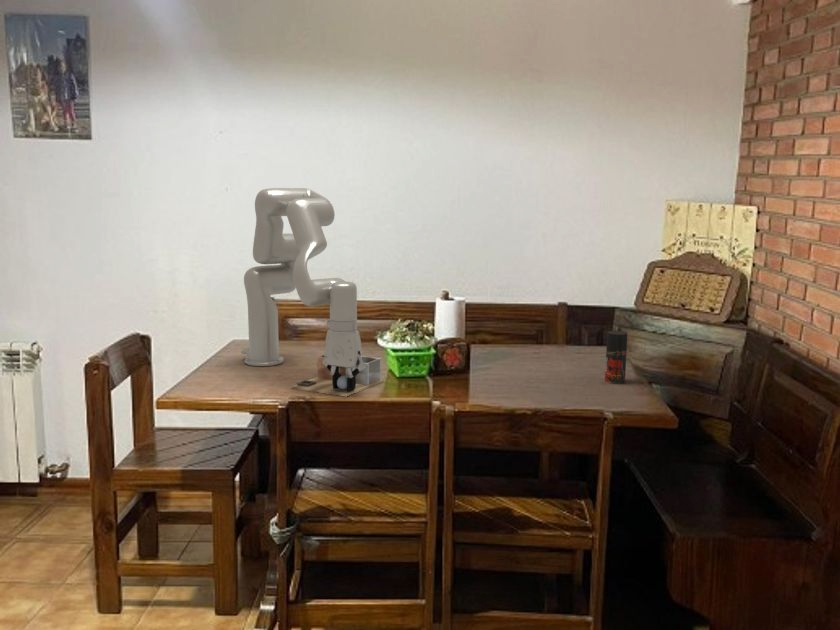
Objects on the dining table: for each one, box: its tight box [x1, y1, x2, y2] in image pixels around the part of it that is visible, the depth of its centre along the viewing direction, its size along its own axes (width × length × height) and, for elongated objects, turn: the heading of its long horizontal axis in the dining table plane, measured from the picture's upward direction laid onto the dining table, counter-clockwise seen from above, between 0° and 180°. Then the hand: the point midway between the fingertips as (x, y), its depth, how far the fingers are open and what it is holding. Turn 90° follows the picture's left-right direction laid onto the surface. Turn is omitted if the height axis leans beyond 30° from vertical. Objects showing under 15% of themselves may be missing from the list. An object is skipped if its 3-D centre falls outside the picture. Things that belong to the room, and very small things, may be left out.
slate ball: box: [337, 376, 348, 390], centre depth 231 cm, size 4×4×4 cm
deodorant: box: [604, 330, 628, 385], centre depth 245 cm, size 6×6×15 cm
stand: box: [290, 354, 384, 396], centre depth 238 cm, size 19×20×7 cm
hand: (344, 388), depth 231 cm, fingers closed on slate ball, stand, 4 cm apart
